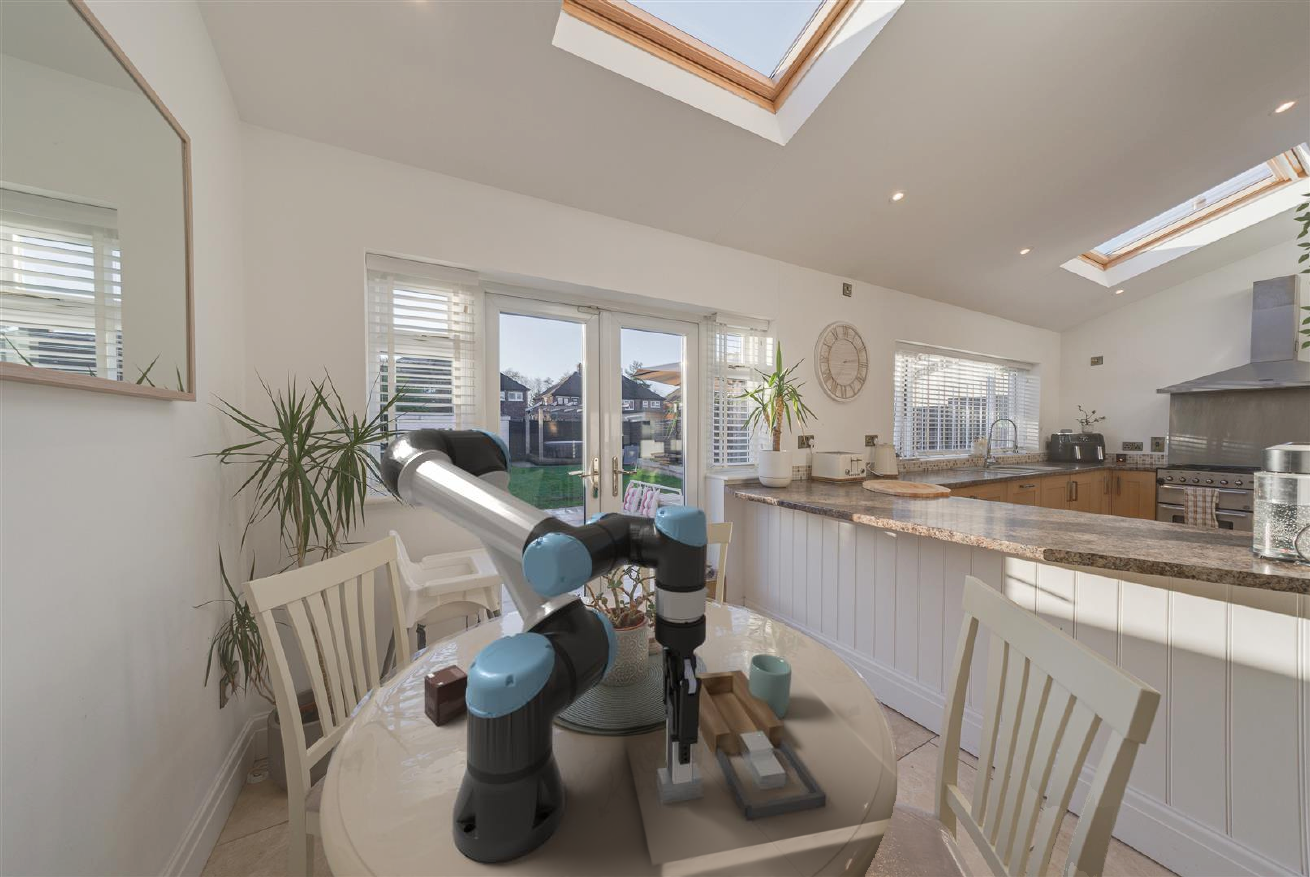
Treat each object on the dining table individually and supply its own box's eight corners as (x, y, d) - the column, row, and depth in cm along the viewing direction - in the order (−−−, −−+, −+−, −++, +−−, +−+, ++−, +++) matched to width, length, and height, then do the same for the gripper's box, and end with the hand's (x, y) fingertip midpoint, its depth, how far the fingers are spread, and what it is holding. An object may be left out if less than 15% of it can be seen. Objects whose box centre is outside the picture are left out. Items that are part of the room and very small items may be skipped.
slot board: (712, 765, 73) (713, 735, 73) (683, 700, 91) (683, 676, 91) (785, 754, 76) (785, 725, 76) (742, 693, 94) (743, 669, 94)
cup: (789, 732, 82) (794, 678, 82) (746, 723, 83) (750, 669, 84) (785, 708, 90) (789, 658, 90) (746, 700, 91) (750, 651, 91)
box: (468, 712, 86) (468, 675, 86) (436, 727, 82) (436, 688, 82) (455, 699, 91) (455, 663, 90) (423, 713, 86) (423, 675, 86)
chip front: (760, 796, 67) (760, 776, 67) (749, 776, 70) (749, 757, 70) (785, 792, 67) (785, 772, 67) (772, 772, 71) (772, 753, 71)
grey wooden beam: (662, 805, 64) (662, 708, 64) (657, 788, 67) (657, 696, 67) (702, 798, 65) (702, 703, 65) (696, 782, 68) (696, 691, 68)
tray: (746, 831, 61) (747, 809, 61) (716, 767, 73) (716, 748, 73) (825, 816, 64) (825, 795, 64) (784, 756, 75) (784, 739, 75)
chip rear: (749, 769, 70) (750, 751, 70) (739, 751, 74) (740, 734, 74) (773, 766, 71) (773, 747, 71) (762, 748, 75) (762, 731, 75)
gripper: (724, 635, 58) (722, 812, 59) (689, 591, 74) (687, 731, 75) (668, 640, 57) (666, 822, 57) (644, 594, 73) (643, 738, 73)
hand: (678, 770), depth 66 cm, fingers closed on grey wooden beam, 3 cm apart
